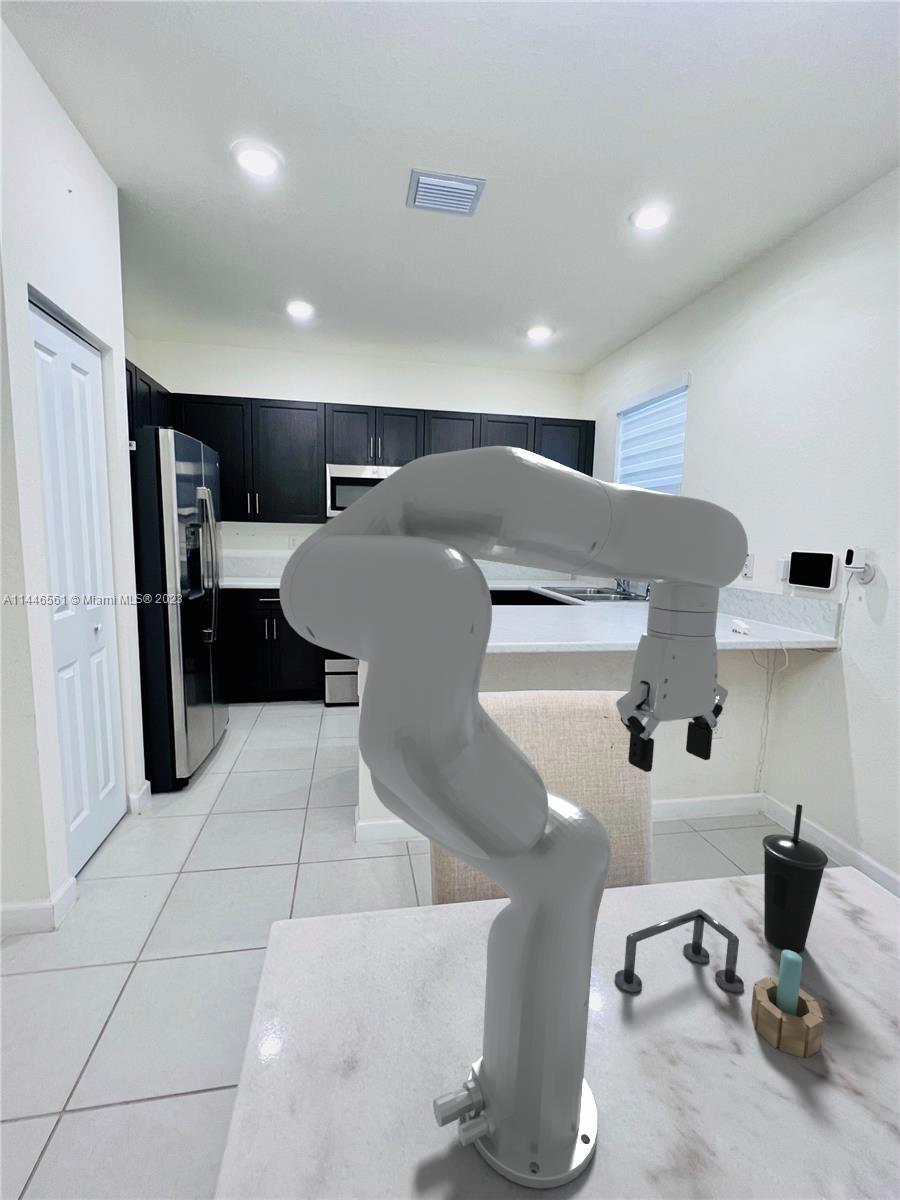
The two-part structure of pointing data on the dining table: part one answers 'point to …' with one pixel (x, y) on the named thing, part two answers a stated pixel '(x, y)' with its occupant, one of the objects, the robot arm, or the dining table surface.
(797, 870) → the drinking cup
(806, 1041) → the ring
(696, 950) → the corner grab bar
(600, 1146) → the dining table surface
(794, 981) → the peg
